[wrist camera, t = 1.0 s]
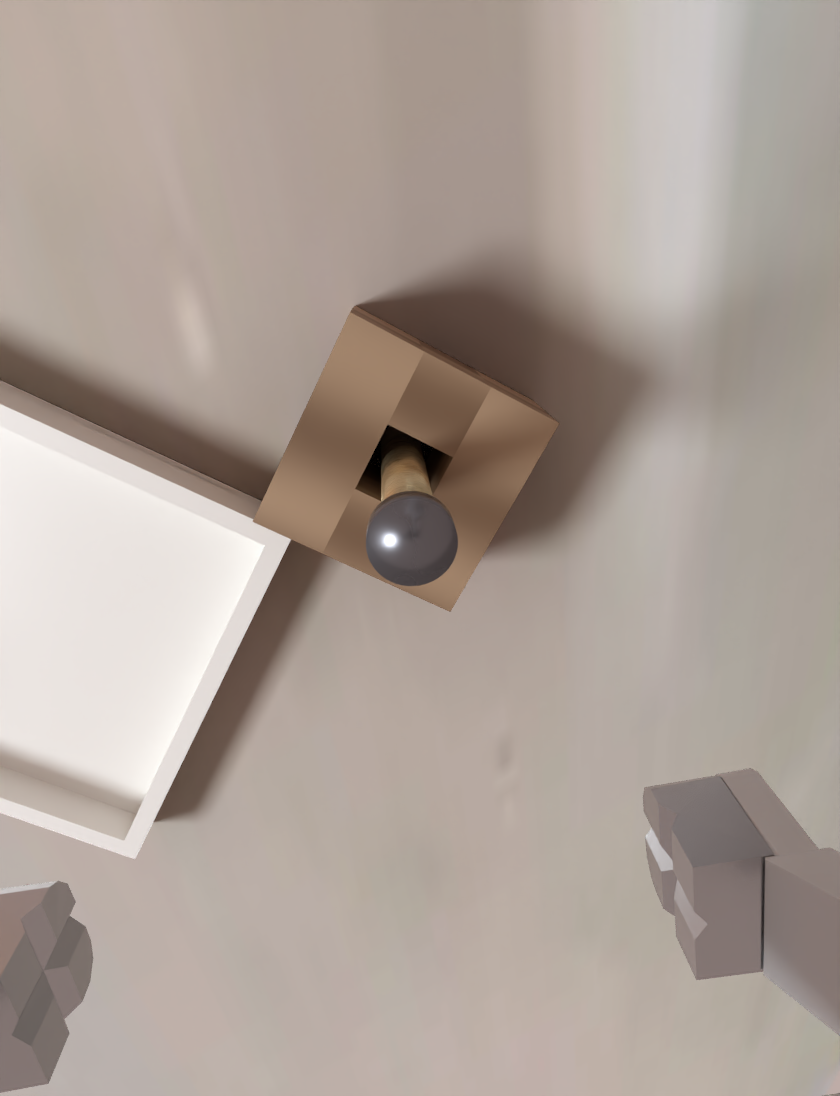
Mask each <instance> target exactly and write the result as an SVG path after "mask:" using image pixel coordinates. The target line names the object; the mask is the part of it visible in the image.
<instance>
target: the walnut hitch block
mask: <svg viewBox="0 0 840 1096" xmlns="http://www.w3.org/2000/svg"><path fill="white" fill-rule="evenodd" d="M387 425H390V426H392V427H394V428H396V429H398V430H400V431H402V432H404V433H406V434H408V435H410V436H412V437H414V438H416V439H418V440H420V441H422V442H424V443H426V444H428V445H430V446H432V447H433V449H432V451H431V453H430V455H429V456H428V458H427V460H426V462H425V465H426V469H427V474H428V478H429V483H430V487H431V491H432V496H433V497H435V498H437V499H438V500H439V501H441V502H442V503H443V504H444V505H445V506H446V508H447V509H448V510H449V512H450V514H451V516H452V518H453V521H454V524H455V528H456V532H457V536H458V548H457V553H456V556H455V559H454V561H453V563H452V564H451V566H450V567H449V569H448V570H447V571H446V572H445V573H444V574H443V575H442V576H440V577H439V578H438V579H436V580H434V581H432V582H430V583H427V584H424V585H420V586H403V585H399V584H395V583H393V582H390V581H389V580H387V579H385V578H384V577H382V576H381V575H380V574H379V573H378V572H377V571H376V570H375V569H374V567H373V566H372V564H371V562H370V560H369V558H368V555H367V550H366V530H367V524H368V521H369V518H370V516H371V514H372V512H373V511H374V509H375V508H376V507H377V505H378V504H380V503H381V468H380V467H378V466H376V465H374V464H372V463H370V462H369V460H370V458H371V456H372V454H373V452H374V450H375V448H376V446H377V444H378V442H379V440H380V439H381V437H382V435H383V433H384V431H385V429H386V427H387ZM558 425H559V423H558V422H557V421H556V420H555V419H554V418H553V417H551V416H550V415H549V414H548V413H547V412H546V411H544V410H543V409H542V408H541V407H540V406H539V405H537V404H536V403H535V402H534V401H533V400H531V399H529V398H527V397H525V396H523V395H521V394H520V393H518V392H516V391H514V390H512V389H510V388H508V387H506V386H505V385H503V384H501V383H499V382H497V381H495V380H493V379H491V378H490V377H488V376H486V375H484V374H482V373H480V372H478V371H477V370H475V369H473V368H471V367H469V366H467V365H465V364H463V363H462V362H460V361H458V360H456V359H454V358H452V357H450V356H448V355H447V354H445V353H443V352H441V351H439V350H437V349H435V348H433V347H432V346H430V345H428V344H426V343H424V342H422V341H420V340H418V339H417V338H415V337H413V336H411V335H409V334H407V333H405V332H403V331H402V330H400V329H398V328H396V327H394V326H392V325H390V324H389V323H387V322H385V321H383V320H381V319H379V318H377V317H375V316H374V315H372V314H370V313H368V312H366V311H364V310H362V309H360V308H359V307H357V306H354V308H353V309H352V310H351V312H350V314H349V316H348V318H347V320H346V322H345V324H344V326H343V329H342V331H341V333H340V335H339V337H338V339H337V341H336V344H335V346H334V348H333V350H332V352H331V354H330V356H329V359H328V361H327V363H326V365H325V367H324V369H323V371H322V374H321V376H320V378H319V380H318V382H317V384H316V386H315V389H314V391H313V393H312V395H311V397H310V399H309V401H308V404H307V406H306V408H305V410H304V412H303V414H302V417H301V419H300V421H299V423H298V425H297V427H296V429H295V432H294V434H293V436H292V438H291V440H290V442H289V444H288V447H287V449H286V451H285V453H284V455H283V457H282V459H281V462H280V464H279V466H278V468H277V470H276V472H275V474H274V477H273V479H272V481H271V483H270V485H269V487H268V489H267V492H266V494H265V496H264V498H263V500H262V502H261V504H260V507H259V509H258V511H257V513H256V515H255V517H254V519H253V522H254V523H256V524H258V525H261V526H263V527H265V528H267V529H269V530H272V531H274V532H276V533H278V534H280V535H283V536H285V537H287V538H289V539H291V540H293V541H296V542H298V543H300V544H302V545H304V546H307V547H309V548H311V549H313V550H315V551H318V552H320V553H322V554H324V555H326V556H329V557H331V558H333V559H335V560H337V561H340V562H342V563H344V564H346V565H348V566H351V567H353V568H355V569H357V570H359V571H362V572H364V573H366V574H368V575H370V576H373V577H375V578H377V579H379V580H381V581H384V582H386V583H388V584H390V585H392V586H395V587H397V588H399V589H401V590H403V591H406V592H408V593H410V594H412V595H414V596H416V597H419V598H421V599H423V600H425V601H427V602H430V603H432V604H434V605H436V606H438V607H441V608H443V609H445V610H447V611H449V612H450V611H451V610H452V608H453V606H454V605H455V603H456V601H457V599H458V598H459V596H460V594H461V592H462V591H463V589H464V587H465V586H466V584H467V582H468V580H469V579H470V577H471V575H472V573H473V572H474V570H475V568H476V567H477V565H478V563H479V561H480V560H481V558H482V556H483V555H484V553H485V551H486V549H487V548H488V546H489V544H490V542H491V541H492V539H493V537H494V536H495V534H496V532H497V530H498V529H499V527H500V525H501V523H502V522H503V520H504V518H505V517H506V515H507V513H508V511H509V510H510V508H511V506H512V504H513V503H514V501H515V499H516V498H517V496H518V494H519V492H520V491H521V489H522V487H523V486H524V484H525V482H526V480H527V479H528V477H529V475H530V473H531V472H532V470H533V468H534V467H535V465H536V463H537V461H538V460H539V458H540V456H541V454H542V453H543V451H544V449H545V448H546V446H547V444H548V442H549V441H550V439H551V437H552V436H553V434H554V432H555V430H556V429H557V427H558Z"/></svg>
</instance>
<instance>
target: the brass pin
mask: <svg viewBox="0 0 840 1096" xmlns="http://www.w3.org/2000/svg"><path fill="white" fill-rule="evenodd" d="M457 548H458V536H457V532H456V528H455V524H454V521H453V518H452V516H451V514H450V512H449V510H448V509H447V508H446V506H445V505H444V504H443V503H442V502H441V501H439V500H438V499H437V498H435V497H433V496H432V491H431V487H430V483H429V478H428V474H427V469H426V465H425V461H424V456H423V452H422V448H421V443H420V440H418V439H416V438H414V437H412V436H410V435H408V434H406V433H404V432H402V431H400V430H398V429H396V428H394V427H392V426H391V427H389V428H388V429H387V430H386V431H385V432H384V434H383V436H382V439H381V503H380V504H378V505H377V507H376V508H375V509H374V511H373V512H372V514H371V516H370V518H369V521H368V524H367V530H366V550H367V555H368V558H369V560H370V562H371V564H372V566H373V567H374V569H375V570H376V571H377V572H378V573H379V574H380V575H381V576H382V577H384V578H385V579H387V580H389V581H390V582H393V583H395V584H399V585H403V586H420V585H424V584H427V583H430V582H432V581H434V580H436V579H438V578H439V577H440V576H442V575H443V574H444V573H445V572H446V571H447V570H448V569H449V567H450V566H451V564H452V563H453V561H454V559H455V556H456V553H457Z"/></svg>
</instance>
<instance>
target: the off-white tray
mask: <svg viewBox="0 0 840 1096" xmlns="http://www.w3.org/2000/svg"><path fill="white" fill-rule="evenodd" d="M261 502H262V501H260V500H258V499H256V498H254V497H252V496H250V495H248V494H245V493H243V492H241V491H239V490H237V489H235V488H232V487H230V486H228V485H226V484H224V483H222V482H219V481H217V480H215V479H213V478H211V477H209V476H206V475H204V474H202V473H200V472H198V471H196V470H193V469H191V468H189V467H187V466H185V465H183V464H181V463H178V462H176V461H174V460H172V459H170V458H168V457H165V456H163V455H161V454H159V453H157V452H155V451H152V450H150V449H148V448H146V447H144V446H142V445H139V444H137V443H135V442H133V441H131V440H129V439H126V438H124V437H122V436H120V435H118V434H116V433H113V432H111V431H109V430H107V429H105V428H103V427H101V426H98V425H96V424H94V423H92V422H90V421H88V420H85V419H83V418H81V417H79V416H77V415H75V414H72V413H70V412H68V411H66V410H64V409H62V408H59V407H57V406H55V405H53V404H51V403H49V402H46V401H44V400H42V399H40V398H38V397H36V396H34V395H31V394H29V393H27V392H25V391H23V390H21V389H18V388H16V387H14V386H12V385H10V384H8V383H5V382H3V381H1V380H0V813H2V814H5V815H8V816H11V817H14V818H17V819H20V820H23V821H26V822H28V823H31V824H34V825H37V826H40V827H43V828H46V829H49V830H52V831H54V832H57V833H60V834H63V835H66V836H69V837H72V838H75V839H78V840H81V841H83V842H86V843H89V844H92V845H95V846H98V847H101V848H104V849H107V850H109V851H112V852H115V853H118V854H121V855H124V856H127V857H130V858H133V859H135V858H136V856H137V854H138V852H139V850H140V848H141V846H142V844H143V842H144V840H145V838H146V836H147V834H148V832H149V830H150V828H151V826H152V824H153V822H154V819H155V817H156V815H157V813H158V811H159V809H160V807H161V805H162V803H163V801H164V799H165V797H166V795H167V793H168V791H169V789H170V787H171V785H172V783H173V780H174V778H175V776H176V774H177V772H178V770H179V768H180V766H181V764H182V762H183V760H184V758H185V756H186V754H187V752H188V750H189V748H190V746H191V744H192V742H193V739H194V737H195V735H196V733H197V731H198V729H199V727H200V725H201V723H202V721H203V719H204V717H205V715H206V713H207V711H208V709H209V707H210V705H211V703H212V700H213V698H214V696H215V694H216V692H217V690H218V688H219V686H220V684H221V682H222V680H223V678H224V676H225V674H226V672H227V670H228V668H229V666H230V664H231V662H232V659H233V657H234V655H235V653H236V651H237V649H238V647H239V645H240V643H241V641H242V639H243V637H244V635H245V633H246V631H247V629H248V627H249V625H250V623H251V621H252V618H253V616H254V614H255V612H256V610H257V608H258V606H259V604H260V602H261V600H262V598H263V596H264V594H265V592H266V590H267V588H268V586H269V584H270V582H271V579H272V577H273V575H274V573H275V571H276V569H277V567H278V565H279V563H280V561H281V559H282V557H283V555H284V553H285V551H286V549H287V547H288V545H289V543H290V541H291V539H289V538H287V537H285V536H283V535H280V534H278V533H276V532H274V531H272V530H269V529H267V528H265V527H263V526H261V525H258V524H256V523H254V522H253V519H254V517H255V515H256V513H257V511H258V509H259V507H260V504H261Z"/></svg>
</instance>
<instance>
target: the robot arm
mask: <svg viewBox="0 0 840 1096" xmlns="http://www.w3.org/2000/svg"><path fill="white" fill-rule="evenodd" d="M643 807H644V813H645V815H646V817H647V819H648V821H649V823H650V825H651V827H652V828H651V829H650V831H649V832H648V834H647V835H646V837H645V841H646V852H647V860H648V864H649V869H650V874H651V878H652V881H653V884H654V887H655V890H656V893H657V895H658V897H659V900H660V902H661V904H662V906H663V909H665V910H666V911H668V912H669V913H671V914H672V915H674V916H675V925H676V937H677V939H678V941H679V944H680V946H681V948H682V950H683V952H684V954H685V956H686V959H687V961H688V963H689V965H690V967H691V969H692V971H693V974H694V976H695V978H696V980H701V979H709V978H716V977H724V976H732V975H740V974H747V973H755V972H763V971H764V976H766V977H767V978H768V979H769V980H771V981H772V982H773V983H774V984H776V985H777V986H778V987H779V988H780V989H782V990H783V991H784V992H785V993H787V994H788V995H789V996H790V997H792V998H793V999H794V1000H795V1001H797V1002H798V1003H799V1004H800V1005H802V1006H803V1007H804V1008H805V1009H807V1010H808V1011H809V1012H810V1013H812V1014H813V1015H814V1016H815V1017H817V1018H818V1019H819V1020H820V1021H822V1022H823V1023H824V1024H825V1025H827V1026H828V1027H829V1028H830V1029H832V1030H833V1031H834V1032H835V1033H837V1034H838V1035H839V1036H840V852H838V851H836V850H834V849H832V848H824V849H818V847H817V846H816V845H815V844H814V842H813V841H812V840H811V839H810V837H809V836H808V835H807V833H806V832H805V831H804V830H803V828H802V827H801V826H800V825H799V823H798V822H797V821H796V820H795V818H794V817H793V816H792V815H791V813H790V812H789V811H788V809H787V808H786V807H785V806H784V804H783V803H782V802H781V801H780V799H779V798H778V797H777V796H776V794H775V793H774V792H773V790H772V789H771V788H770V787H769V785H768V784H767V783H766V782H765V780H764V779H763V778H762V777H761V775H760V774H759V773H758V772H757V771H755V770H753V769H751V768H749V769H743V770H738V771H732V772H727V773H721V774H716V775H715V776H709V777H703V778H697V779H691V780H685V781H679V782H673V783H667V784H661V785H655V786H649V787H645V788H644V793H643ZM75 903H76V901H75V899H74V897H73V895H72V893H71V890H70V888H69V886H68V884H67V883H63V882H60V881H53V882H46V883H39V884H31V885H24V886H16V887H9V888H2V889H0V1093H1V1092H7V1091H12V1090H17V1089H22V1088H28V1087H33V1086H38V1085H43V1084H48V1083H49V1081H50V1079H51V1076H52V1074H53V1071H54V1069H55V1067H56V1064H57V1062H58V1059H59V1057H60V1055H61V1052H62V1050H63V1047H64V1045H65V1043H66V1040H67V1038H68V1035H69V1031H68V1028H67V1025H66V1022H65V1020H64V1019H65V1018H66V1017H67V1016H68V1015H69V1014H70V1013H71V1012H72V1011H73V1010H74V1009H75V1008H76V1007H77V1006H78V1005H79V1004H80V1003H81V1002H82V1001H83V999H84V996H85V993H86V991H87V988H88V986H89V983H90V979H91V971H92V963H93V953H92V945H91V940H90V937H89V934H88V932H87V929H86V927H85V926H84V925H82V924H81V923H80V922H78V921H77V920H75V919H74V918H72V917H71V916H70V914H71V912H72V909H73V907H74V905H75ZM824 1096H840V1093H837V1094H830V1095H824Z"/></svg>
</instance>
